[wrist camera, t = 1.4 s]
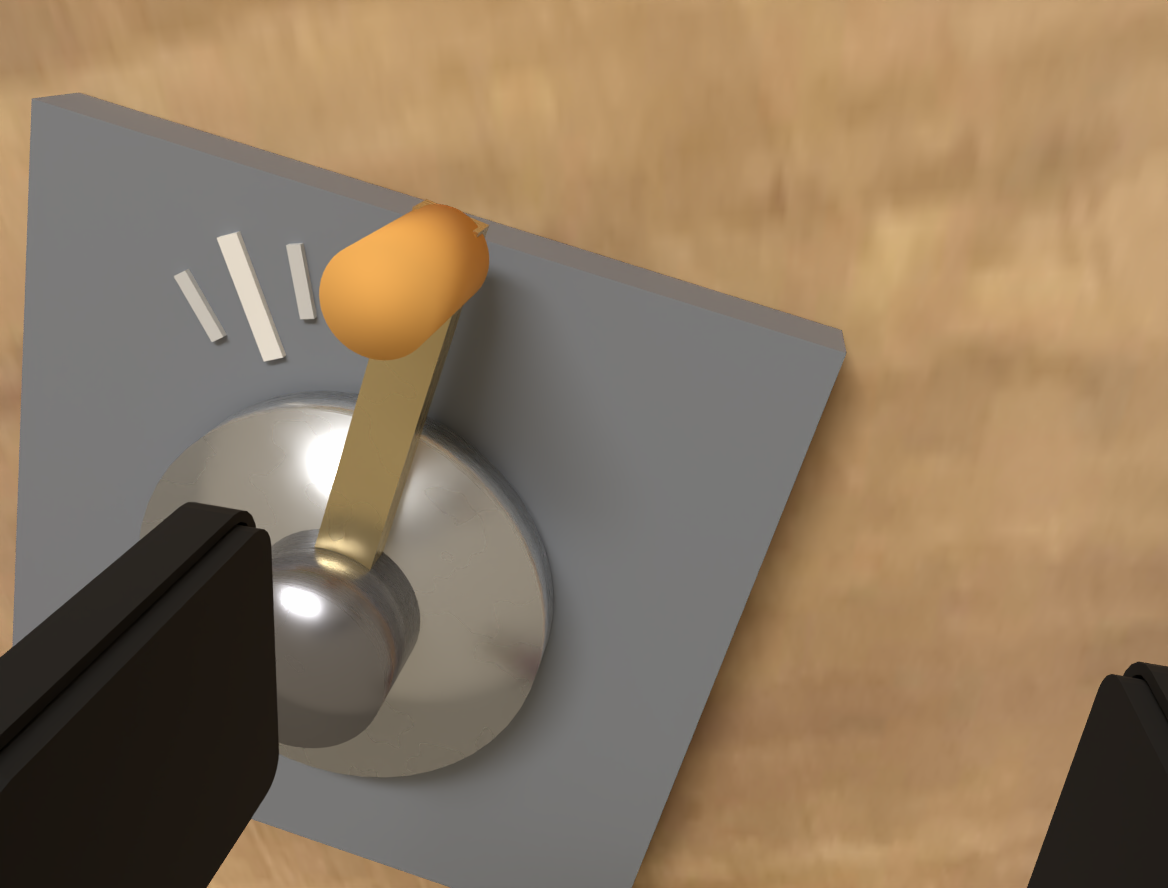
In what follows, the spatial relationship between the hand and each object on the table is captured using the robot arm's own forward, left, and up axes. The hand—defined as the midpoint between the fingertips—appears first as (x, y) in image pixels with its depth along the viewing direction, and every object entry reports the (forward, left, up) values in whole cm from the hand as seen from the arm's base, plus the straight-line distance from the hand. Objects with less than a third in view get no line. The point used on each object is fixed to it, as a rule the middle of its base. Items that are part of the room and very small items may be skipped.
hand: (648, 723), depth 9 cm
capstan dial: (+7, +9, -17) cm, 21 cm away
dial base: (+8, +12, -20) cm, 24 cm away
